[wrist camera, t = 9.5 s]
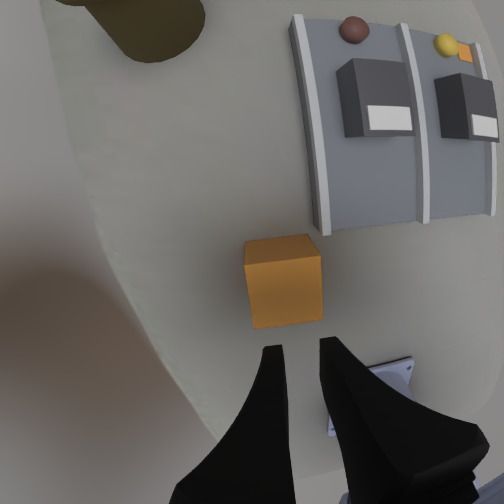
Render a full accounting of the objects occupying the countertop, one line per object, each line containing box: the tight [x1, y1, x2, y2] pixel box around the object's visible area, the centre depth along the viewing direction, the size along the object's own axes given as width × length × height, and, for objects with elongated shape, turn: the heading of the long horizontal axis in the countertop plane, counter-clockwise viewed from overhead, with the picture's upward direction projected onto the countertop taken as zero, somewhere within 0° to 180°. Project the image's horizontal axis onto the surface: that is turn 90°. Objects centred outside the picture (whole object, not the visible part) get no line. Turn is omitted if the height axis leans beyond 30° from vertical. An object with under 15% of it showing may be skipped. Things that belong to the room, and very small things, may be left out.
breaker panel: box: [289, 14, 496, 236], centre depth 15 cm, size 13×14×2 cm
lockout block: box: [244, 234, 323, 329], centre depth 18 cm, size 4×4×4 cm
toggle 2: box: [434, 73, 500, 143], centre depth 13 cm, size 4×3×3 cm
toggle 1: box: [336, 58, 416, 138], centre depth 13 cm, size 4×3×3 cm
